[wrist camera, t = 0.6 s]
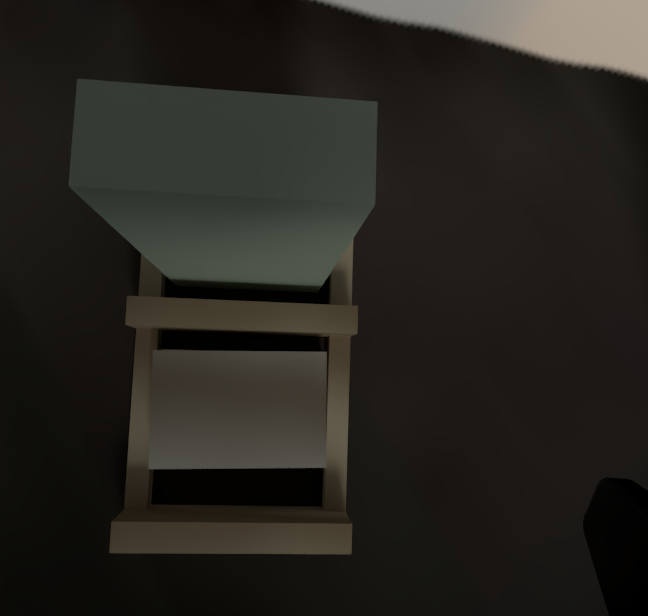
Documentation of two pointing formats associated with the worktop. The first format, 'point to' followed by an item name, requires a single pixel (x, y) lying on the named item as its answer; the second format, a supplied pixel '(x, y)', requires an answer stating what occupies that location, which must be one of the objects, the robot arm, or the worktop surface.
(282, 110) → the panel
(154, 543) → the rack
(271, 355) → the offcut upper
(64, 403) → the worktop surface
